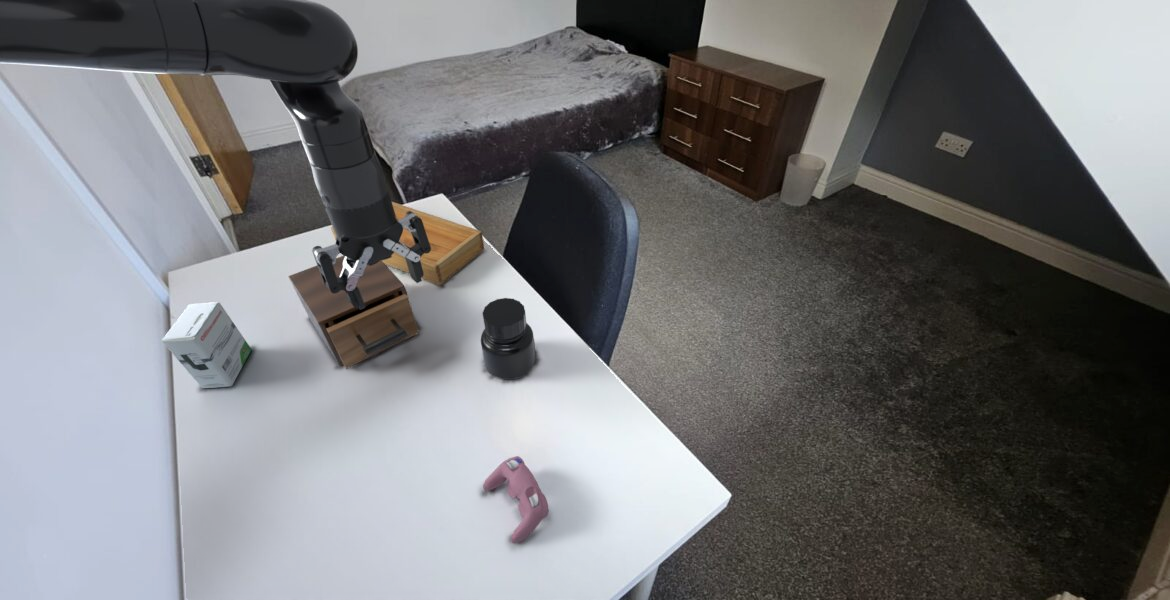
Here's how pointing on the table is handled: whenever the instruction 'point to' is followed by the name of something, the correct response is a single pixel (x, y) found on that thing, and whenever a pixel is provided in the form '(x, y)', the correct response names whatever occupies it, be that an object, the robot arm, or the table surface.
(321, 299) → the cabinet
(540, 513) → the video game controller
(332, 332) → the drawer
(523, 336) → the ink bottle
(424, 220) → the tray
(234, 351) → the ink box
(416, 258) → the robot arm
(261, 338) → the table surface
